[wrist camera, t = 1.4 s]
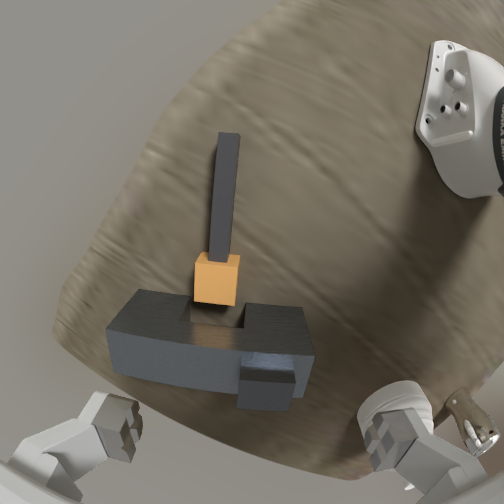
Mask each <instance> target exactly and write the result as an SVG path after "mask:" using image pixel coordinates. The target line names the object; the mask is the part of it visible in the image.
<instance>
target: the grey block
mask: <svg viewBox="0 0 504 504" xmlns="http://www.w3.org/2000/svg"><path fill="white" fill-rule="evenodd" d="M105 330H106V336H107V341H108V346H109V351H110V356H111V361H112V365H113V370H114V372H115V373H118V374H122V375H127V376H131V377H135V378H139V379H144V380H149V381H153V382H158V383H163V384H169V385H174V386H180V387H186V388H192V389H199V390H206V391H213V392H222V393H230V394H237V406H236V408H237V409H248V410H262V411H282V412H288V410H289V407H290V403H291V400H292V398H303V396H304V392H305V389H306V386H307V382H308V379H309V376H310V372H311V369H312V365H313V362H314V358H315V354H314V350H313V346H312V342H311V339H310V335H309V331H308V328H307V324H306V320H305V317H304V313H303V310H302V308H301V307H288V306H276V305H265V304H255V303H246V309H245V319H244V328H234V327H225V326H216V325H208V324H200V323H193V322H190V296H184V295H177V294H169V293H162V292H155V291H148V290H142V289H139V290H138V291H137V292H136V293H135V294H134V295H133V297H132V298H131V299H130V300H129V301H128V302H127V304H126V305H125V306H124V307H123V308H122V310H121V311H120V312H119V313H118V314H117V315H116V317H115V318H114V319H113V320H112V321H111V323H110V324H109V325H108V326H107V328H106V329H105Z"/></svg>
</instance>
